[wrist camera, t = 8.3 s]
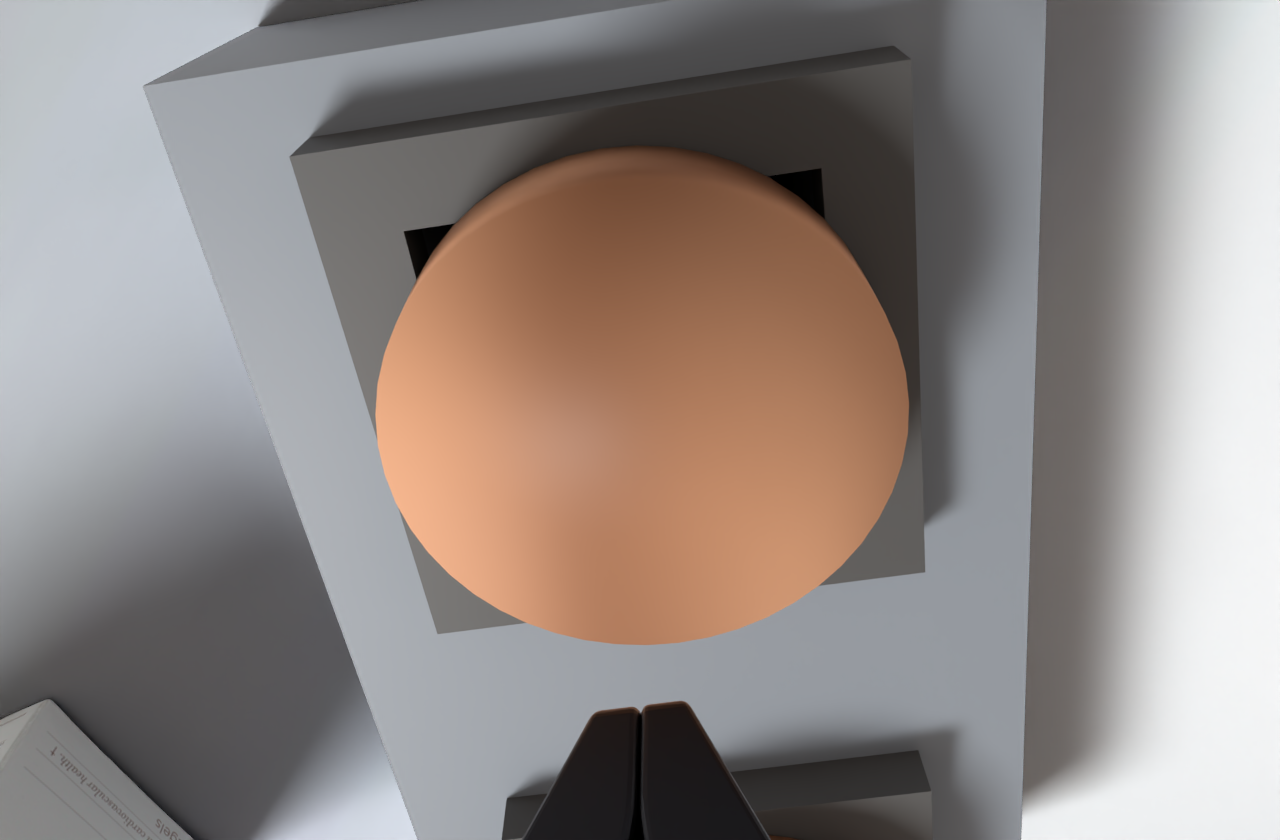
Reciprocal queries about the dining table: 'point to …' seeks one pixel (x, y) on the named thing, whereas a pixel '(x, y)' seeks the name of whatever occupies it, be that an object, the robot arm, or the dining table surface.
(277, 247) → the socket block
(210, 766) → the dining table surface
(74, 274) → the dining table surface
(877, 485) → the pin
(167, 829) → the supplement box
